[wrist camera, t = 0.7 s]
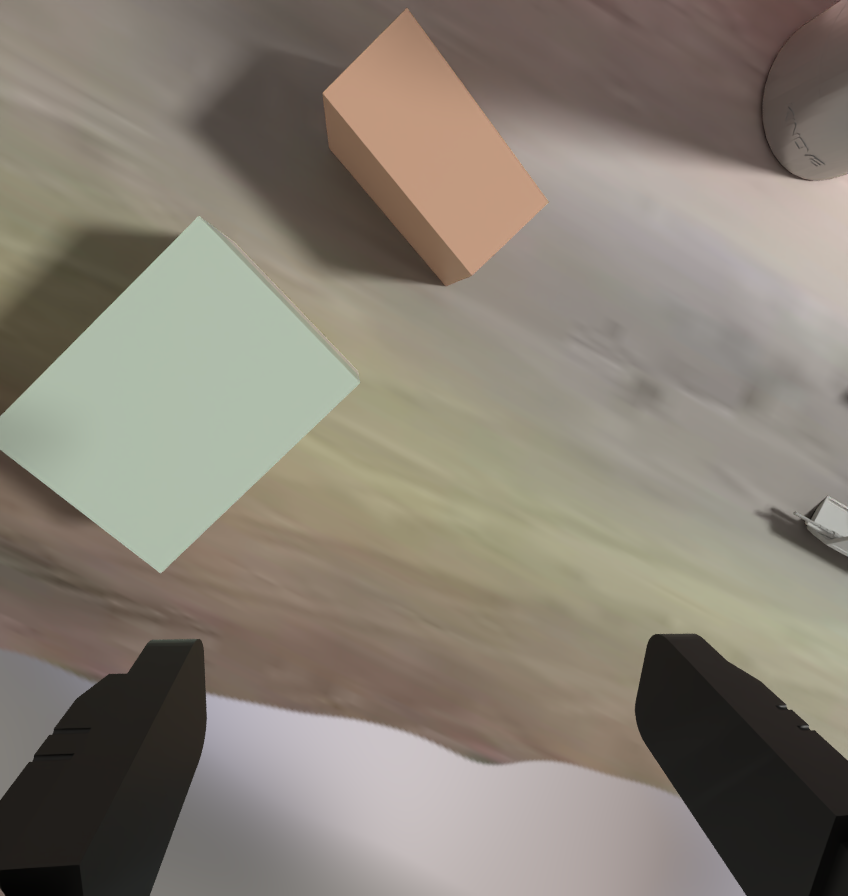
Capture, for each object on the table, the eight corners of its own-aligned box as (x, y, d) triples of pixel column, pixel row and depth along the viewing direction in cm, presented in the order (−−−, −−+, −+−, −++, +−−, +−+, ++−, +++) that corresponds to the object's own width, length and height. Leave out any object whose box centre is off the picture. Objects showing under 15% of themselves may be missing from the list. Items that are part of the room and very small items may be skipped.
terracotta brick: (393, 84, 28) (407, 7, 21) (505, 229, 31) (548, 202, 24) (329, 148, 28) (322, 92, 21) (445, 286, 31) (472, 275, 24)
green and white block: (234, 241, 29) (198, 215, 22) (358, 370, 31) (360, 382, 24) (66, 410, 29) (-19, 435, 23) (200, 521, 32) (160, 573, 25)
